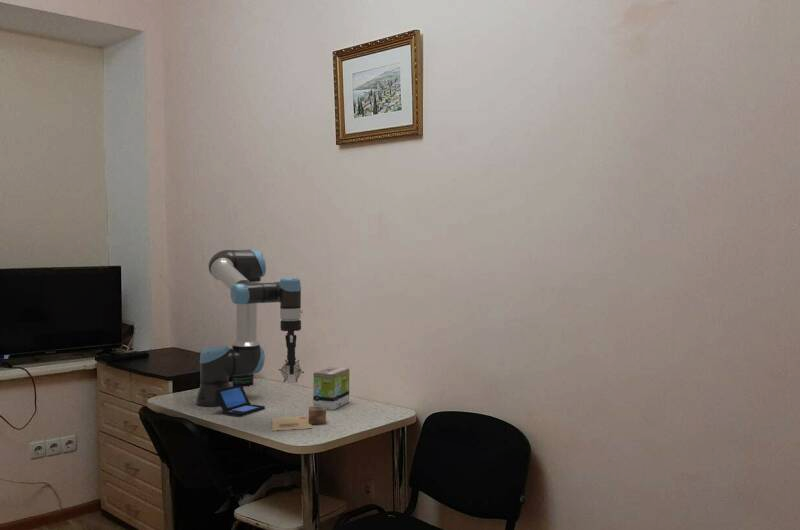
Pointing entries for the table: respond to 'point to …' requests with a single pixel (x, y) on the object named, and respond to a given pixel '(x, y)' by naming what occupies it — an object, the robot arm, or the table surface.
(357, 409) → the table surface
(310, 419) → the walnut block
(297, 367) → the grey spiky ornament
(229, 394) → the handheld game console
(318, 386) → the tea box
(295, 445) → the table surface
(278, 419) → the envelope
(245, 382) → the storage jar
